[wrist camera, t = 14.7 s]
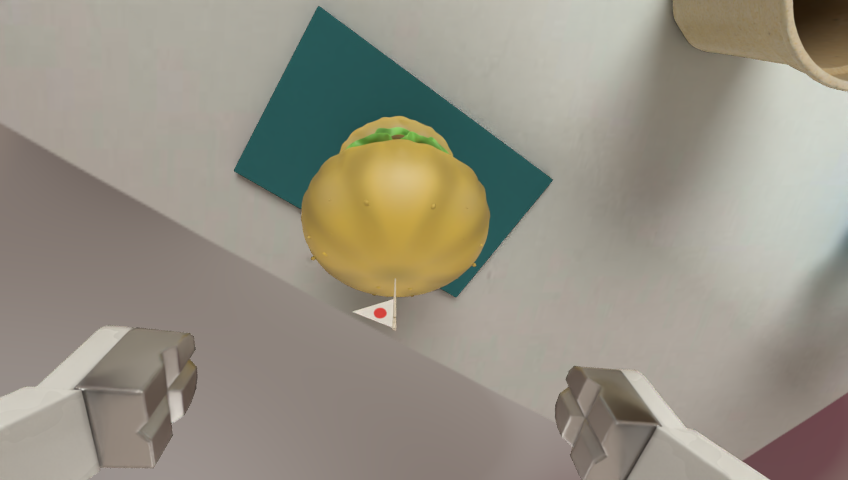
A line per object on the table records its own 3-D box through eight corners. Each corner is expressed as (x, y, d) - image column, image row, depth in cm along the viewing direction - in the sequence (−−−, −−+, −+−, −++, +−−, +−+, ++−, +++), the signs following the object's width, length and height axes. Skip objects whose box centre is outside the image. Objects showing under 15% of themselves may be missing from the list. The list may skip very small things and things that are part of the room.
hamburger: (468, 115, 22) (540, 169, 11) (453, 233, 25) (499, 366, 14) (328, 104, 21) (260, 150, 10) (330, 227, 24) (278, 362, 13)
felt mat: (235, 169, 23) (233, 171, 22) (319, 6, 20) (318, 5, 19) (455, 294, 27) (456, 297, 27) (551, 178, 24) (553, 180, 24)
